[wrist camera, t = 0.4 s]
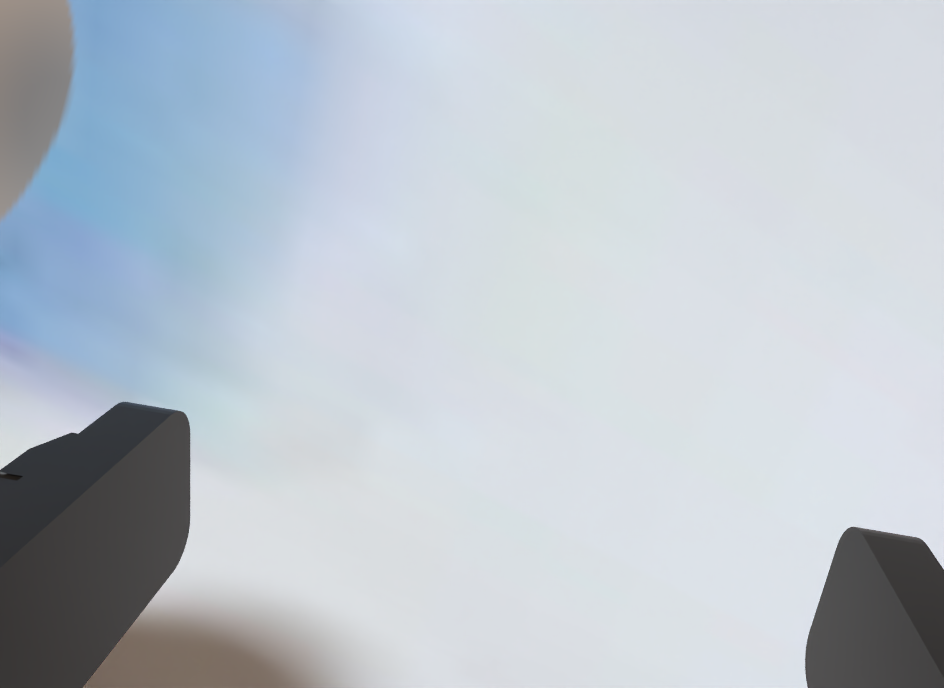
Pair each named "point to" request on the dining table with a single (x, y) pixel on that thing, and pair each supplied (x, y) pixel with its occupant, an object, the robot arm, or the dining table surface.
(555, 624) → the dining table surface
